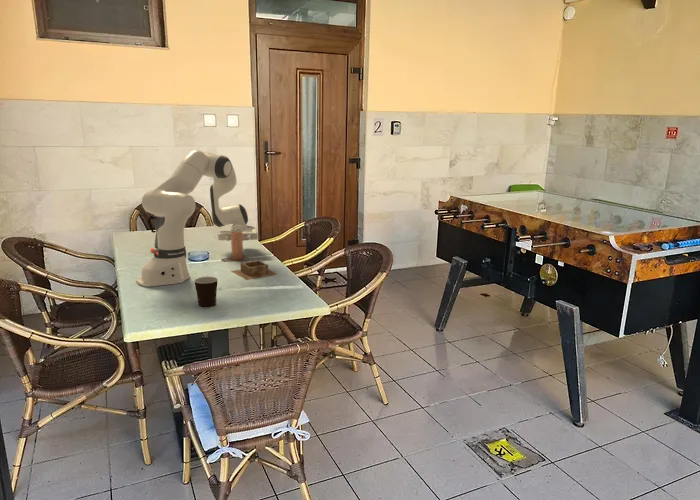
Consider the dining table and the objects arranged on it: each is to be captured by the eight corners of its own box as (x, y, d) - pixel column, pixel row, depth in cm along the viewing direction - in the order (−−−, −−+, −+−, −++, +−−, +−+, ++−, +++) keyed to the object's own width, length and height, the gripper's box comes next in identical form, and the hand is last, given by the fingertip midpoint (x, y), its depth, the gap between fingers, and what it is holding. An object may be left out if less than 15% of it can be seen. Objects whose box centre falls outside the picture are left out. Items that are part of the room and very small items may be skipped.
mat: (231, 265, 257) (231, 264, 256) (221, 260, 266) (221, 258, 266) (253, 262, 264) (253, 260, 264) (243, 256, 273) (243, 255, 273)
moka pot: (179, 245, 295) (177, 210, 290) (156, 250, 282) (154, 213, 277) (168, 242, 300) (166, 208, 295) (145, 248, 287) (142, 211, 282)
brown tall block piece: (232, 258, 267) (231, 231, 263) (243, 258, 268) (242, 231, 264) (231, 262, 259) (230, 234, 256) (242, 262, 260) (241, 234, 257)
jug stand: (246, 282, 232) (246, 271, 230) (230, 273, 244) (230, 262, 243) (278, 276, 241) (278, 265, 240) (261, 268, 253) (261, 257, 252)
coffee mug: (212, 309, 199) (211, 284, 196) (191, 307, 200) (190, 282, 198) (225, 299, 210) (224, 275, 207) (205, 297, 211) (204, 273, 209)
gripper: (218, 227, 275) (216, 233, 262) (258, 226, 278) (257, 232, 265) (218, 239, 277) (216, 245, 264) (258, 238, 280) (258, 244, 267)
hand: (237, 238), depth 264 cm, fingers open, 8 cm apart
